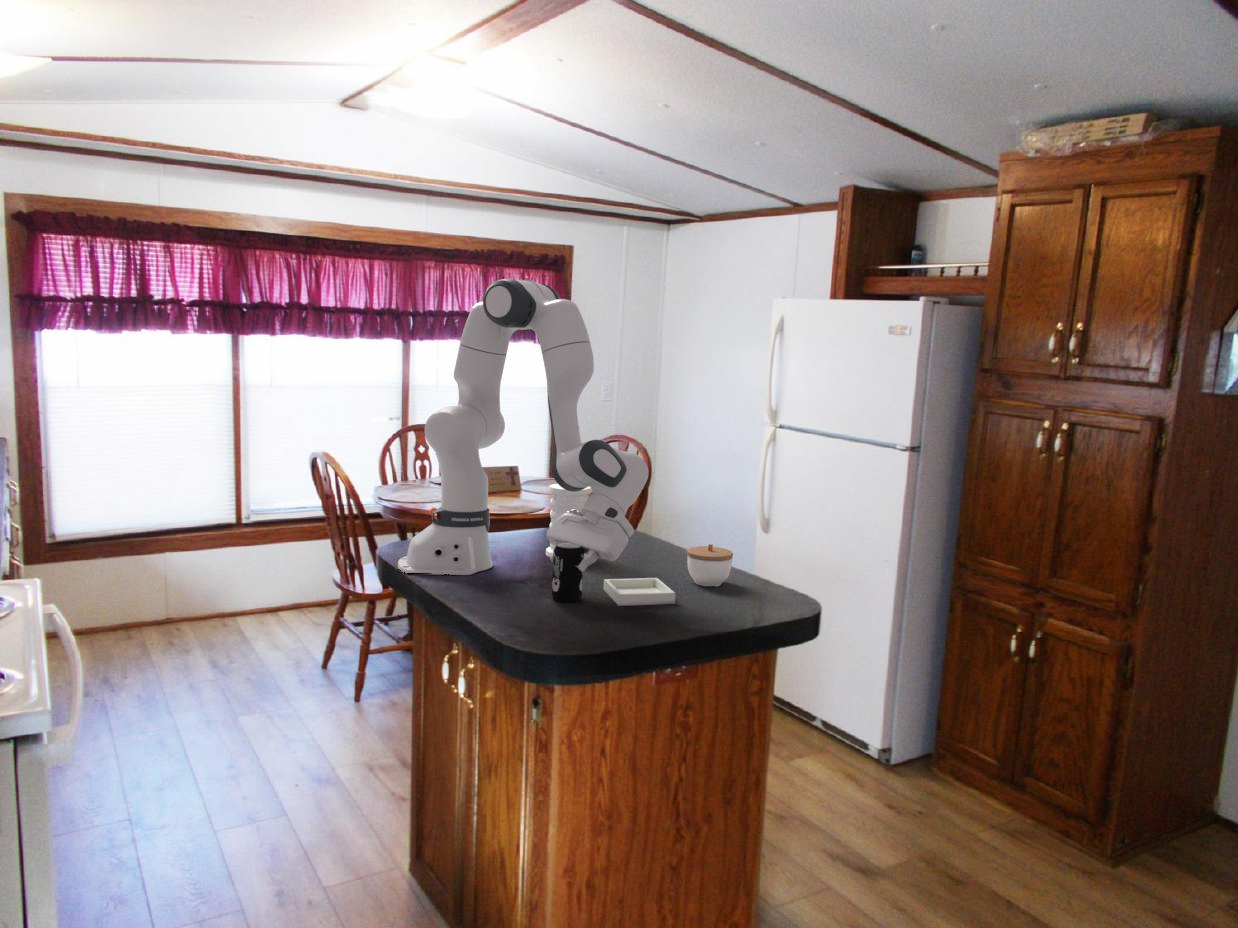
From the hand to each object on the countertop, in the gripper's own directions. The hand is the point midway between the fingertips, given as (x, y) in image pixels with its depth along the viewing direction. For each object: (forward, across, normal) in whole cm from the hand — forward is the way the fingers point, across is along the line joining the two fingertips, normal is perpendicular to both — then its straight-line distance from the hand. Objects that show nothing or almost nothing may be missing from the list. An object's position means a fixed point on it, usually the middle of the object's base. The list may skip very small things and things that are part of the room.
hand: (566, 565), depth 195 cm
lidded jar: (-20, +10, +31) cm, 39 cm away
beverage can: (+5, 0, +6) cm, 8 cm away
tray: (-5, +8, +16) cm, 18 cm away
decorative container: (-15, -30, +26) cm, 42 cm away
